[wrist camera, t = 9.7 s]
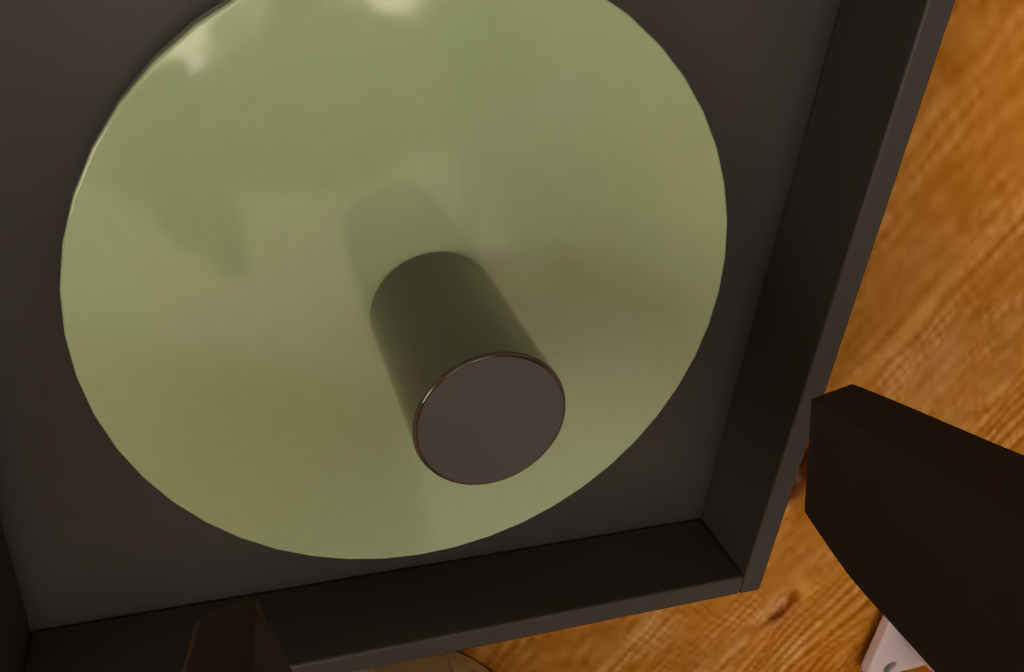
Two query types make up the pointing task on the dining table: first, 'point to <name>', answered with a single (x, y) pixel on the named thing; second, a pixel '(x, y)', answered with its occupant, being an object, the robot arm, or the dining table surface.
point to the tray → (543, 538)
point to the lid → (391, 264)
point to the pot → (434, 664)
